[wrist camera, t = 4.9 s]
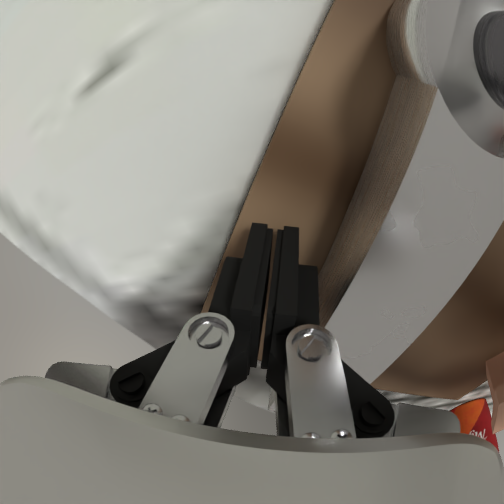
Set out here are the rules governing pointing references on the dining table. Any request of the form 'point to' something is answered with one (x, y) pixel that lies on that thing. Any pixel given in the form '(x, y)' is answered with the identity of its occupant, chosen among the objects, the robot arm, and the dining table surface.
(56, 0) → the dining table surface
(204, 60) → the dining table surface
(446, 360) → the board
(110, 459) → the robot arm
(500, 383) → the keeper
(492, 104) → the link
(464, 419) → the paper cup
